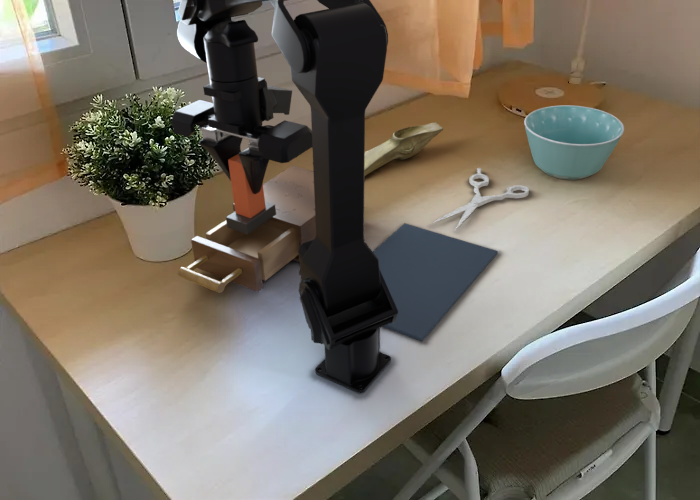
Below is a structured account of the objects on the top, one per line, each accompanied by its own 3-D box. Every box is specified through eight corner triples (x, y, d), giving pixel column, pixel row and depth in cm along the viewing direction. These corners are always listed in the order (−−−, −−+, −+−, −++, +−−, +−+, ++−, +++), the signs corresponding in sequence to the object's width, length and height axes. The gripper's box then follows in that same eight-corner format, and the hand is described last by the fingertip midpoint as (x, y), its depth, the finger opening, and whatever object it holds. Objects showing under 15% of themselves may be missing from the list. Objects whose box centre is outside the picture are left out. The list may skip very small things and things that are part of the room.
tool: (347, 191, 117) (344, 167, 115) (329, 175, 122) (326, 152, 119) (456, 150, 125) (456, 127, 122) (435, 136, 130) (435, 114, 127)
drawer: (232, 312, 88) (227, 282, 85) (169, 285, 93) (163, 257, 91) (317, 244, 100) (315, 216, 98) (257, 224, 106) (254, 197, 103)
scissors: (536, 184, 113) (472, 237, 100) (535, 188, 114) (472, 241, 101) (478, 167, 119) (411, 215, 106) (478, 171, 119) (411, 220, 106)
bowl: (612, 196, 111) (622, 148, 106) (512, 182, 116) (517, 136, 111) (617, 154, 123) (626, 110, 118) (526, 144, 128) (531, 101, 123)
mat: (422, 341, 83) (422, 338, 83) (319, 301, 90) (319, 299, 90) (497, 253, 98) (497, 250, 98) (404, 225, 106) (404, 223, 105)
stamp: (247, 234, 92) (239, 169, 87) (227, 227, 94) (217, 163, 88) (276, 214, 96) (269, 151, 91) (256, 208, 98) (248, 145, 93)
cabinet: (303, 264, 98) (300, 226, 94) (237, 240, 104) (232, 203, 100) (359, 219, 108) (358, 183, 104) (295, 199, 113) (292, 165, 110)
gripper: (335, 66, 85) (341, 181, 93) (220, 45, 94) (235, 152, 102) (278, 96, 77) (290, 218, 86) (159, 70, 86) (180, 183, 95)
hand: (248, 190), depth 92 cm, fingers closed on stamp, 3 cm apart
